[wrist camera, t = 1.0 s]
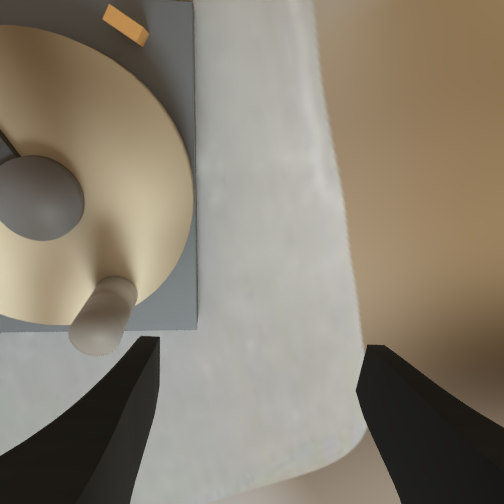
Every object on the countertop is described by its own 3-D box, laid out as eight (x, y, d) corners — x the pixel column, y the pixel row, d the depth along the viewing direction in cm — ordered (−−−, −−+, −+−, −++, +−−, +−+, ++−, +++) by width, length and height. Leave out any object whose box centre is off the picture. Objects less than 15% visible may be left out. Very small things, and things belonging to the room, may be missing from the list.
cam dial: (-56, 310, 19) (-143, 376, 14) (-144, 21, 14) (-316, -19, 10) (196, 308, 20) (189, 368, 16) (192, 42, 16) (181, 15, 11)
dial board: (-47, 318, 21) (-86, 349, 18) (-146, -14, 15) (-223, -39, 13) (198, 315, 22) (195, 344, 20) (193, 10, 17) (189, -8, 14)
